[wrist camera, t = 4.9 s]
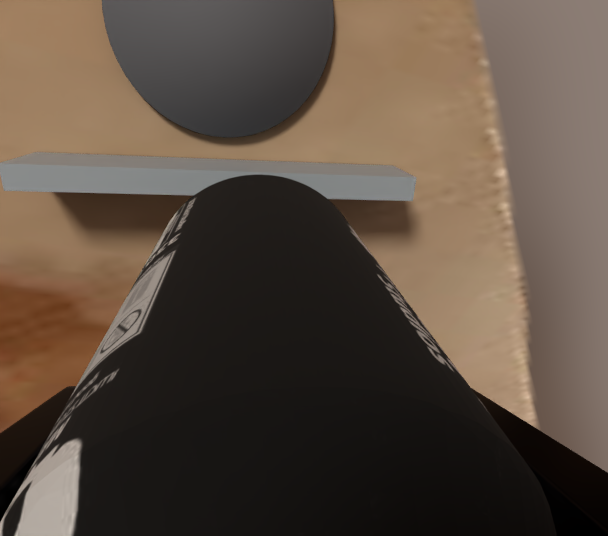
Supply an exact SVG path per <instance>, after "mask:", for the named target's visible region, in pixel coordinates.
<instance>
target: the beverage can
mask: <svg viewBox="0 0 608 536" xmlns="http://www.w3.org/2000/svg"><path fill="white" fill-rule="evenodd" d="M0 536H557V533H556V529H555V525H554V521H553V518H552V514H551V510H550V506H549V504H548V501H547V499H546V496H545V494H544V491H543V489H542V486H541V484H540V482H539V481H538V479H537V477H536V476H535V474H534V473H533V471H532V470H531V469H530V467H529V466H528V464H527V463H526V462H525V460H524V459H523V458H522V456H521V455H520V454H519V452H518V451H517V450H516V448H515V447H514V446H513V444H512V443H511V442H510V440H509V439H508V438H507V436H506V435H505V433H504V432H503V431H502V429H501V428H500V427H499V425H498V424H497V423H496V421H495V420H494V419H493V417H492V416H491V415H490V413H489V412H488V411H487V409H486V408H485V406H484V405H483V404H482V402H481V401H480V400H479V398H478V397H477V396H476V394H475V393H474V392H473V390H472V389H471V388H470V386H469V385H468V384H467V382H466V381H465V380H464V378H463V377H462V375H461V374H460V373H459V371H458V370H457V369H456V367H455V366H454V365H453V363H452V362H451V361H450V359H449V358H448V357H447V355H446V354H445V353H444V351H443V350H442V349H441V347H440V346H439V344H438V343H437V342H436V340H435V339H434V338H433V336H432V335H431V334H430V332H429V331H428V330H427V328H426V327H425V326H424V324H423V323H422V322H421V320H420V319H419V318H418V316H417V315H416V313H415V312H414V311H413V309H412V308H411V307H410V305H409V304H408V303H407V301H406V300H405V299H404V297H403V296H402V295H401V293H400V292H399V291H398V289H397V288H396V286H395V285H394V284H393V282H392V281H391V280H390V278H389V277H388V276H387V274H386V273H385V272H384V270H383V269H382V268H381V266H380V265H379V264H378V262H377V261H376V260H375V258H374V257H373V255H372V254H371V253H370V251H369V250H368V249H367V247H366V246H365V245H364V243H363V242H362V241H361V239H360V238H359V237H358V235H357V234H356V233H355V231H354V230H353V229H352V227H351V226H350V224H349V223H348V222H347V220H346V219H345V218H344V216H343V215H342V214H341V212H340V211H339V210H338V209H337V208H336V207H335V206H334V205H333V204H332V203H331V202H330V201H329V200H328V199H327V198H326V197H324V196H323V195H322V194H320V193H319V192H317V191H316V190H314V189H312V188H311V187H309V186H307V185H305V184H303V183H300V182H298V181H295V180H292V179H288V178H285V177H280V176H274V175H262V174H260V175H244V176H238V177H233V178H229V179H226V180H223V181H220V182H217V183H215V184H213V185H211V186H209V187H207V188H205V189H203V190H201V191H200V192H198V193H197V194H195V195H194V196H193V197H191V198H190V199H189V200H188V201H187V202H185V203H184V204H183V205H182V206H181V207H180V209H179V210H178V211H177V212H176V213H175V214H174V216H173V217H172V219H171V220H170V221H169V223H168V225H167V226H166V228H165V230H164V232H163V234H162V235H161V237H160V239H159V241H158V242H157V244H156V246H155V248H154V250H153V251H152V253H151V255H150V257H149V258H148V260H147V262H146V264H145V266H144V267H143V269H142V271H141V273H140V274H139V276H138V278H137V280H136V282H135V283H134V285H133V287H132V289H131V290H130V292H129V294H128V296H127V298H126V299H125V301H124V303H123V305H122V306H121V308H120V310H119V312H118V314H117V315H116V317H115V319H114V321H113V322H112V324H111V326H110V328H109V330H108V331H107V333H106V335H105V337H104V338H103V340H102V342H101V344H100V346H99V347H98V349H97V351H96V353H95V354H94V356H93V358H92V360H91V362H90V363H89V365H88V367H87V369H86V370H85V372H84V374H83V376H82V378H81V379H80V381H79V383H78V385H77V386H76V388H75V390H74V392H73V394H72V395H71V397H70V399H69V401H68V402H67V404H66V406H65V408H64V410H63V411H62V413H61V415H60V417H59V418H58V420H57V422H56V424H55V426H54V427H53V429H52V431H51V433H50V434H49V436H48V438H47V440H46V442H45V443H44V445H43V447H42V449H41V450H40V452H39V454H38V456H37V458H36V459H35V461H34V463H33V465H32V466H31V468H30V470H29V472H28V474H27V475H26V477H25V479H24V481H23V482H22V484H21V486H20V488H19V490H18V491H17V493H16V495H15V497H14V498H13V500H12V502H11V504H10V506H9V507H8V509H7V511H6V513H5V514H4V516H3V518H2V520H1V521H0Z"/></svg>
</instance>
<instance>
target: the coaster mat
mask: <svg viewBox="0 0 608 536" xmlns="http://www.w3.org/2000/svg"><path fill="white" fill-rule="evenodd" d="M102 10H103V16H104V21H105V27H106V31H107V34H108V37H109V41H110V44H111V47H112V49H113V51H114V54H115V56H116V59H117V61H118V63H119V64H120V66H121V68H122V70H123V72H124V73H125V75H126V77H127V78H128V79H129V81H130V82H131V84H132V85H133V86H134V88H135V89H136V90H137V91H138V93H139V94H140V95H141V96H142V97H143V98H144V99H145V100H146V101H147V102H148V103H149V104H150V105H151V106H152V107H153V108H154V109H156V110H157V111H158V112H159V113H161V114H162V115H164V116H165V117H166V118H168V119H169V120H171V121H173V122H175V123H176V124H178V125H180V126H182V127H184V128H187V129H189V130H192V131H194V132H197V133H201V134H205V135H209V136H217V137H241V136H248V135H253V134H256V133H259V132H262V131H265V130H267V129H269V128H272V127H274V126H276V125H277V124H279V123H281V122H282V121H284V120H285V119H287V118H288V117H289V116H291V115H292V114H293V113H294V112H295V111H296V110H298V109H299V107H300V106H301V105H302V104H303V103H304V102H305V101H306V100H307V98H308V97H309V96H310V94H311V93H312V91H313V90H314V88H315V87H316V85H317V83H318V81H319V79H320V77H321V75H322V73H323V71H324V68H325V65H326V63H327V60H328V56H329V52H330V48H331V44H332V36H333V25H334V10H333V0H102Z"/></svg>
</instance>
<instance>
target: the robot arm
mask: <svg viewBox="0 0 608 536" xmlns="http://www.w3.org/2000/svg"><path fill="white" fill-rule="evenodd" d="M75 388H76V386H69V387H66V388H65V389H63V390H62V391H60V392H59V393H57V394H56V395H54V396H53V397H52V398H50V399H49V400H47V401H46V402H44V403H43V404H42V405H40V406H39V407H37V408H36V409H34V410H33V411H32V412H30V413H29V414H27V415H26V416H24V417H23V418H22V419H20V420H19V421H17V422H16V423H14V424H13V425H12V426H10V427H9V428H7V429H6V430H4V431H3V432H2V433H0V521H1V520H2V518H3V516H4V514H5V513H6V511H7V509H8V507H9V506H10V504H11V502H12V500H13V498H14V497H15V495H16V493H17V491H18V490H19V488H20V486H21V484H22V482H23V481H24V479H25V477H26V475H27V474H28V472H29V470H30V468H31V466H32V465H33V463H34V461H35V459H36V458H37V456H38V454H39V452H40V450H41V449H42V447H43V445H44V443H45V442H46V440H47V438H48V436H49V434H50V433H51V431H52V429H53V427H54V426H55V424H56V422H57V420H58V418H59V417H60V415H61V413H62V411H63V410H64V408H65V406H66V404H67V402H68V401H69V399H70V397H71V395H72V394H73V392H74V390H75ZM471 389H472V388H471ZM472 390H473V389H472ZM473 392H474V393H475V394H476V396H477V397H478V398H479V400H480V401H481V402H482V404H483V405H484V406H485V408H486V409H487V411H488V412H489V413H490V415H491V416H492V417H493V419H494V420H495V421H496V423H497V424H498V425H499V427H500V428H501V429H502V431H503V432H504V433H505V435H506V436H507V438H508V439H509V440H510V442H511V443H512V444H513V446H514V447H515V448H516V450H517V451H518V452H519V454H520V455H521V456H522V458H523V459H524V460H525V462H526V463H527V464H528V466H529V467H530V469H531V470H532V471H533V473H534V474H535V476H536V477H537V479H538V481H539V482H540V484H541V486H542V489H543V491H544V494H545V496H546V499H547V501H548V504H549V506H550V510H551V514H552V518H553V521H554V525H555V529H556V533H557V536H608V473H607V472H605V471H604V470H602V469H601V468H599V467H598V466H596V465H594V464H593V463H591V462H589V461H588V460H586V459H584V458H583V457H581V456H580V455H578V454H577V453H575V452H573V451H572V450H570V449H569V448H567V447H565V446H564V445H562V444H560V443H559V442H557V441H555V440H554V439H552V438H551V437H549V436H548V435H546V434H544V433H543V432H541V431H540V430H538V429H536V428H535V427H533V426H531V425H530V424H528V423H527V422H525V421H523V420H522V419H520V418H519V417H517V416H515V415H514V414H512V413H511V412H509V411H507V410H506V409H504V408H502V407H501V406H499V405H498V404H496V403H494V402H493V401H491V400H490V399H488V398H486V397H485V396H483V395H482V394H480V393H478V392H477V391H475V390H473Z"/></svg>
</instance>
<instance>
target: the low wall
mask: <svg viewBox="0 0 608 536" xmlns="http://www.w3.org/2000/svg"><path fill="white" fill-rule="evenodd" d="M260 174H262V175H274V176H280V177H285V178H288V179H292V180H295V181H298V182H300V183H303V184H305V185H307V186H309V187H311V188H312V189H314V190H316V191H317V192H319V193H320V194H322V195H323V196H324V197H326V198H327V199H352V200H392V201H413V196H414V190H415V184H416V177H414V176H413V175H411V174H409V173H407V172H405V171H403V170H401V169H399V168H397V167H395V166H390V165H364V164H337V163H311V162H284V161H258V160H231V159H205V158H178V157H152V156H125V155H99V154H72V153H46V152H34V153H31V154H28V155H24V156H21V157H18V158H14V159H11V160H8V161H4V162H1V163H0V175H1V179H2V184H3V188H4V191H37V192H77V193H116V194H155V195H195V194H197V193H198V192H200V191H201V190H203V189H205V188H207V187H209V186H211V185H213V184H215V183H217V182H220V181H223V180H226V179H229V178H233V177H238V176H244V175H260Z"/></svg>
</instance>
